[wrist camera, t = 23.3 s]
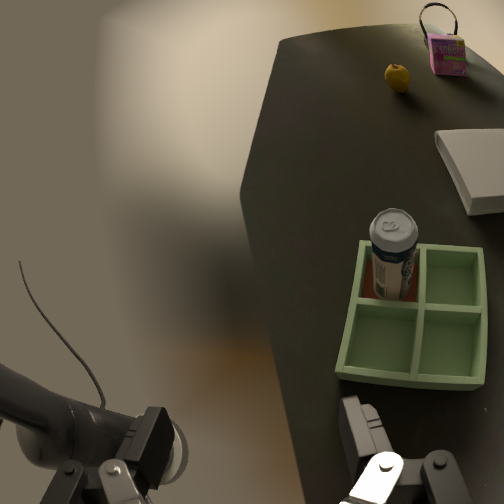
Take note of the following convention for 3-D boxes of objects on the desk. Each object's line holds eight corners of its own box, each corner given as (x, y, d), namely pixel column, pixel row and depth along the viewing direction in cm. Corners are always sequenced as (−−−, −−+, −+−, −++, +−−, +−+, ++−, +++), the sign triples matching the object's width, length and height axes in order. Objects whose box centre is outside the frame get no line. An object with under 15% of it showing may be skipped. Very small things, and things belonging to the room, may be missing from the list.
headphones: (420, 53, 70) (410, 0, 55) (454, 52, 65) (448, 1, 50) (430, 60, 65) (421, 4, 50) (466, 60, 60) (460, 5, 45)
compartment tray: (338, 378, 31) (334, 371, 28) (362, 258, 38) (359, 240, 35) (472, 391, 23) (484, 384, 20) (475, 265, 31) (482, 247, 28)
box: (434, 75, 59) (430, 37, 50) (430, 68, 62) (426, 32, 53) (467, 77, 54) (465, 40, 45) (461, 70, 57) (459, 35, 48)
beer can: (411, 302, 31) (423, 243, 22) (374, 305, 33) (371, 248, 24) (407, 268, 34) (412, 202, 25) (371, 271, 36) (366, 207, 27)
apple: (388, 85, 62) (383, 58, 56) (411, 87, 58) (408, 59, 52) (386, 95, 59) (381, 67, 53) (411, 97, 56) (407, 68, 50)
